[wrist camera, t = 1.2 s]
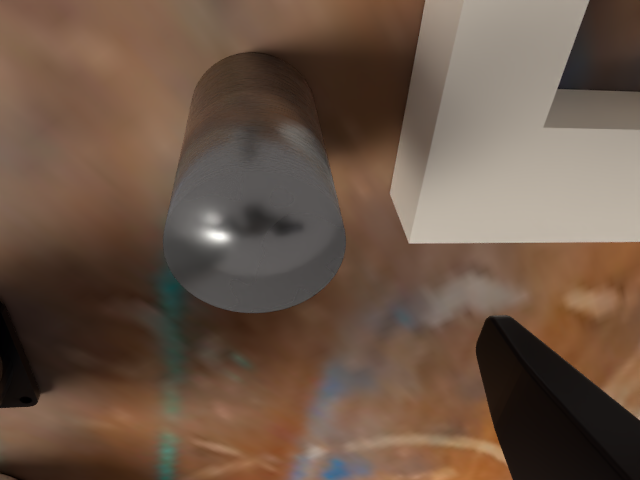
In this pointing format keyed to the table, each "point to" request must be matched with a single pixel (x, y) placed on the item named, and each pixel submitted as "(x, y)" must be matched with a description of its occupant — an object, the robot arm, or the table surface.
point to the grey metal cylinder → (253, 191)
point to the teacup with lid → (6, 477)
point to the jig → (512, 132)
